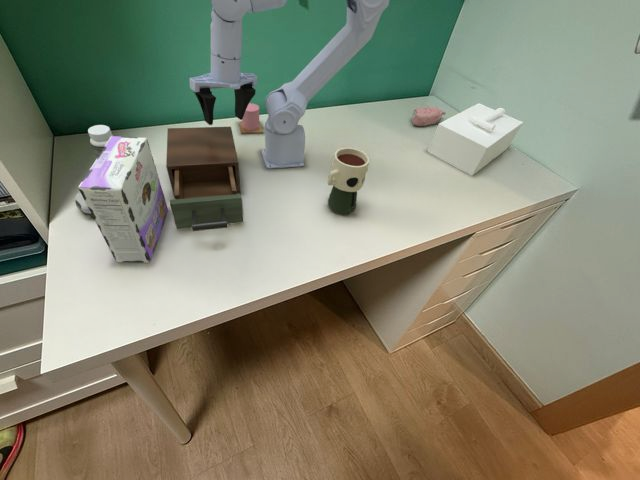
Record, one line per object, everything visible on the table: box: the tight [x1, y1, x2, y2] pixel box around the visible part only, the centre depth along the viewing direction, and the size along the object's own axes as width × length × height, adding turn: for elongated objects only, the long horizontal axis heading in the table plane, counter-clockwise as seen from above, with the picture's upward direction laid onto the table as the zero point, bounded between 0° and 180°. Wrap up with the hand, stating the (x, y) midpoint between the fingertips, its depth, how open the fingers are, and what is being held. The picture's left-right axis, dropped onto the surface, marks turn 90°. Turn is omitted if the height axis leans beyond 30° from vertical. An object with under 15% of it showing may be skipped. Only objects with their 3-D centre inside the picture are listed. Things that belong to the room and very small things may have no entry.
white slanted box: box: [427, 102, 524, 177], centre depth 95 cm, size 14×25×11 cm, turn 135°
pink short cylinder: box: [241, 102, 260, 130], centre depth 90 cm, size 5×5×6 cm
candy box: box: [77, 135, 169, 264], centre depth 55 cm, size 14×6×16 cm, turn 5°
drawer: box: [169, 166, 245, 232], centre depth 64 cm, size 18×12×6 cm
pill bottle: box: [87, 124, 114, 159], centre depth 71 cm, size 5×5×8 cm
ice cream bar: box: [411, 106, 446, 127], centre depth 107 cm, size 6×4×15 cm
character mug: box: [327, 146, 370, 215], centre depth 69 cm, size 11×7×13 cm, turn 130°
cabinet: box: [165, 126, 242, 199], centre depth 72 cm, size 15×14×8 cm
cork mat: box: [238, 120, 264, 135], centre depth 92 cm, size 6×6×1 cm
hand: (224, 120), depth 73 cm, fingers open, 7 cm apart
